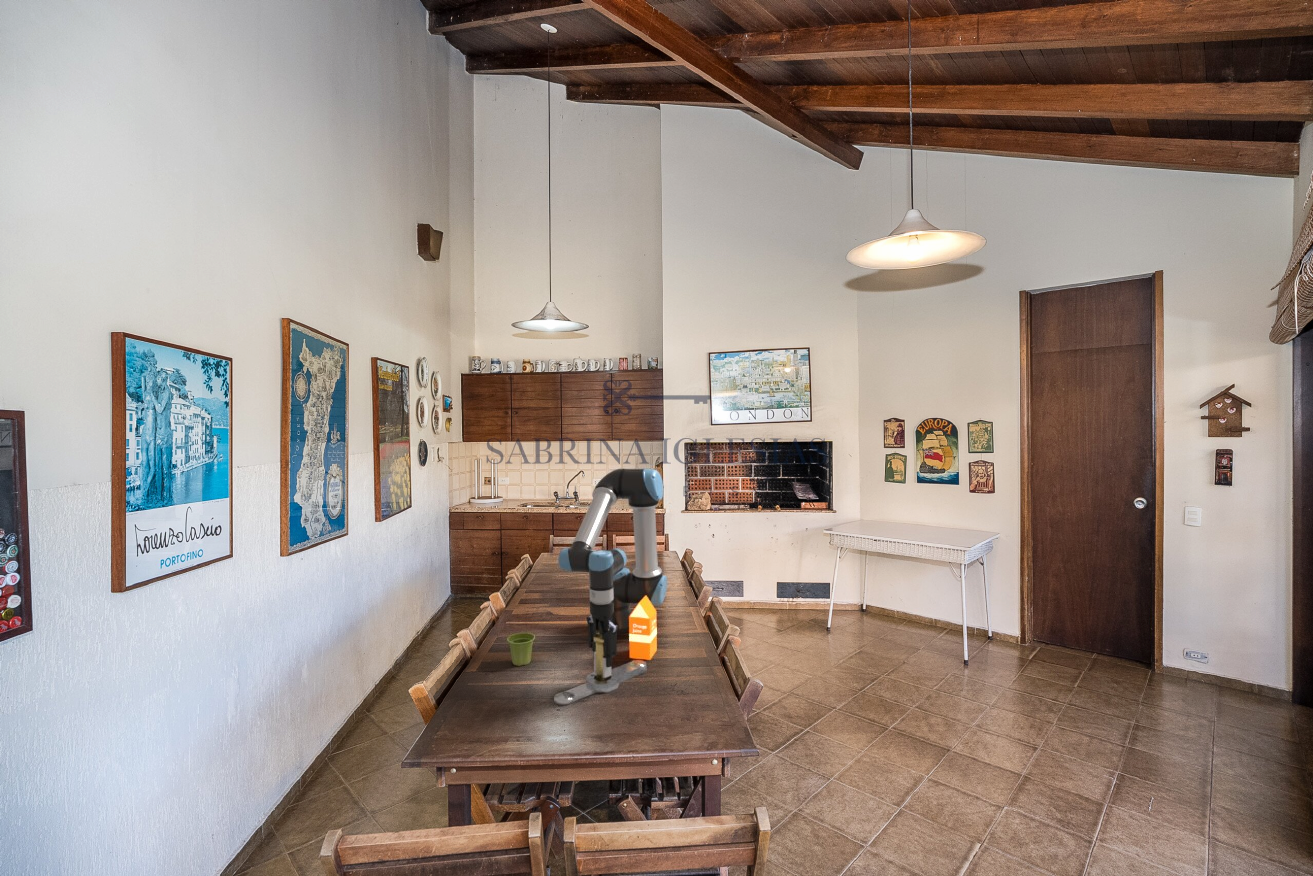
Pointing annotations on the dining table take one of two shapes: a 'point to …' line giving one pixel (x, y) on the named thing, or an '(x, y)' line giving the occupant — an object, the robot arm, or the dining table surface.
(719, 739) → the dining table surface
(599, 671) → the pin
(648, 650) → the orange juice
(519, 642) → the plant pot
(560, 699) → the metal spinner bar
